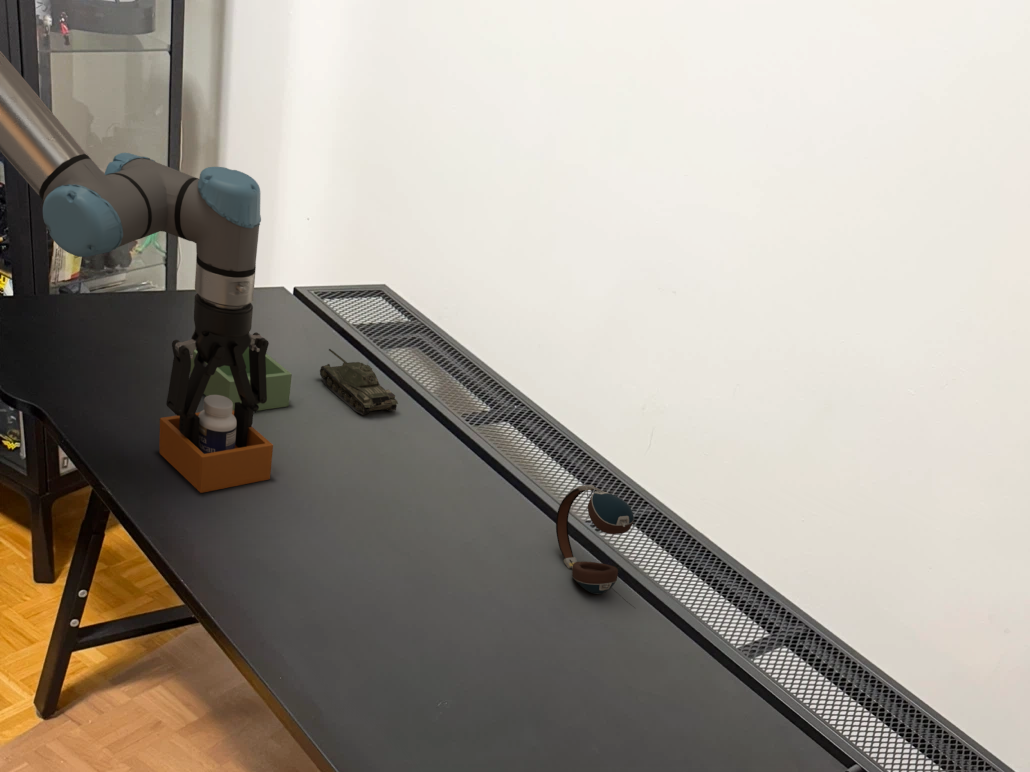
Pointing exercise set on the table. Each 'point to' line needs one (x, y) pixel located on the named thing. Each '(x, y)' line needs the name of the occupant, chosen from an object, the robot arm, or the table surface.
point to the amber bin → (215, 459)
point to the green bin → (225, 385)
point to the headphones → (608, 518)
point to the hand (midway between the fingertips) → (215, 450)
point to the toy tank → (357, 386)
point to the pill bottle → (217, 425)
